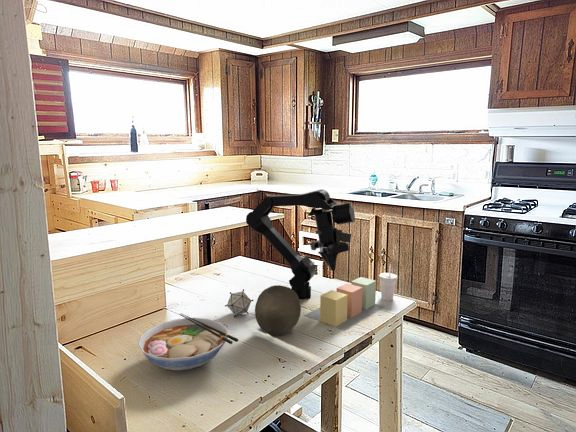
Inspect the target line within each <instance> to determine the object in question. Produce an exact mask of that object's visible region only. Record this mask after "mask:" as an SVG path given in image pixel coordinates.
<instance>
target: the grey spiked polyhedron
mask: <svg viewBox="0 0 576 432" xmlns="http://www.w3.org/2000/svg"><path fill="white" fill-rule="evenodd" d="M244 291H245V289H244V288H243V289H242V291H238V292H234V293H233V292H230V291H229V294H230V296H229V299H228V301H227V304H225V305H224V307H227V308H228V309H229V310H230V311H231V313H232V314H233V318H236V316H237V315H238V316H239V315H241V314H242V315H243V314H245V313H246V314H247V315H249V308H250V305H251V303H252V302H254V299H251V298H250V297H249V296H248V295H247V294H246V293H245V292H244Z"/></svg>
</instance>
